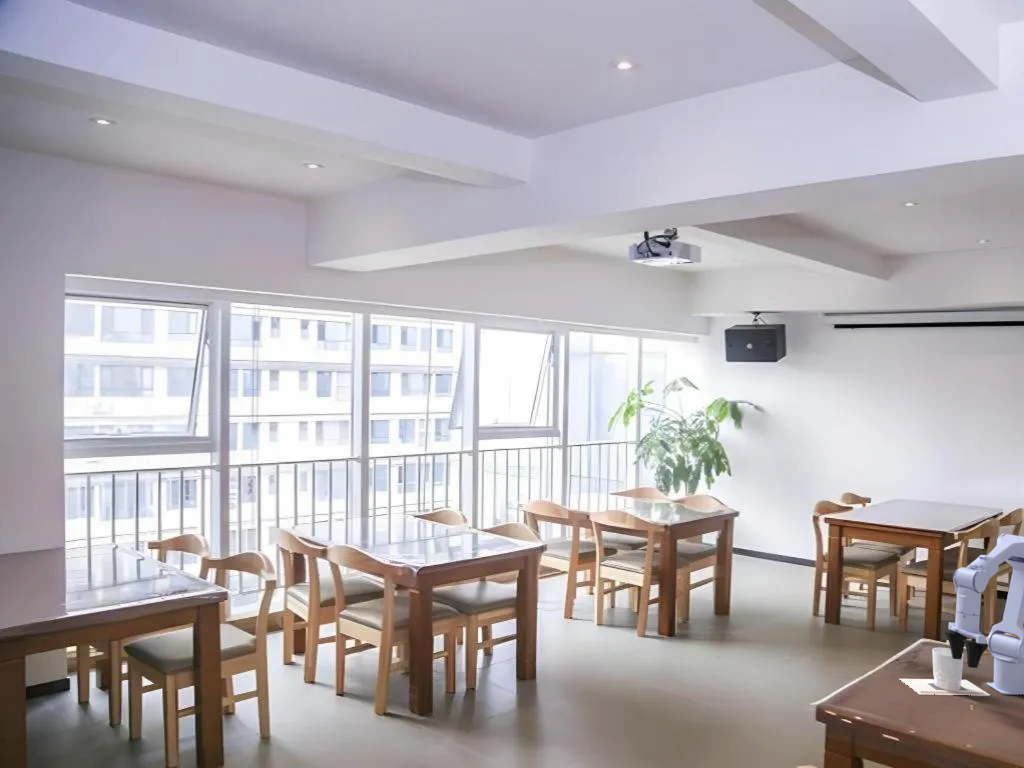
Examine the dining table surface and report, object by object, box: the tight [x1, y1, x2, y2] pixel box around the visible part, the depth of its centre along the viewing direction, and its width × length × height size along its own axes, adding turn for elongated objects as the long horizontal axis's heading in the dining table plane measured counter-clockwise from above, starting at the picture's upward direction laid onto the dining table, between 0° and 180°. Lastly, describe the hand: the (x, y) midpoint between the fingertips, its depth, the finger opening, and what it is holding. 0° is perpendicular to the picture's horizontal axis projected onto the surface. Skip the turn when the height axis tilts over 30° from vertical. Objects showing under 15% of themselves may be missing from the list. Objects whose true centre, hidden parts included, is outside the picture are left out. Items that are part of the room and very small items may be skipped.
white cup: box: [931, 647, 964, 691], centre depth 231 cm, size 8×8×10 cm
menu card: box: [898, 678, 991, 697], centre depth 231 cm, size 20×12×1 cm, turn 90°
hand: (964, 663), depth 220 cm, fingers open, 7 cm apart
